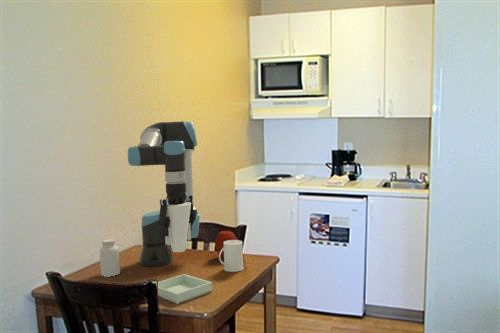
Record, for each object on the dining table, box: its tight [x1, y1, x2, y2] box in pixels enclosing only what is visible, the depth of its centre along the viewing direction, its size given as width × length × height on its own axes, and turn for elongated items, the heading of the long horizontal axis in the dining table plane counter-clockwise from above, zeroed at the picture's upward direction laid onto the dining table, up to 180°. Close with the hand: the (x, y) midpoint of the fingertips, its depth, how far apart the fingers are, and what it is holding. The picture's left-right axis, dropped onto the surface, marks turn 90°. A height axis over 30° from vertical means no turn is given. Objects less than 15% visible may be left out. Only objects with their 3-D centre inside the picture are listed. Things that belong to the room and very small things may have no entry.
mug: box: [218, 239, 245, 273], centre depth 219 cm, size 12×8×12 cm
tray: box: [157, 273, 213, 305], centre depth 193 cm, size 17×17×4 cm
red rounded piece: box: [215, 229, 238, 259], centre depth 238 cm, size 10×10×14 cm
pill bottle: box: [99, 238, 121, 278], centre depth 218 cm, size 8×8×15 cm
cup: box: [166, 201, 191, 253], centre depth 191 cm, size 11×11×18 cm
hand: (178, 242), depth 191 cm, fingers closed on cup, 8 cm apart
